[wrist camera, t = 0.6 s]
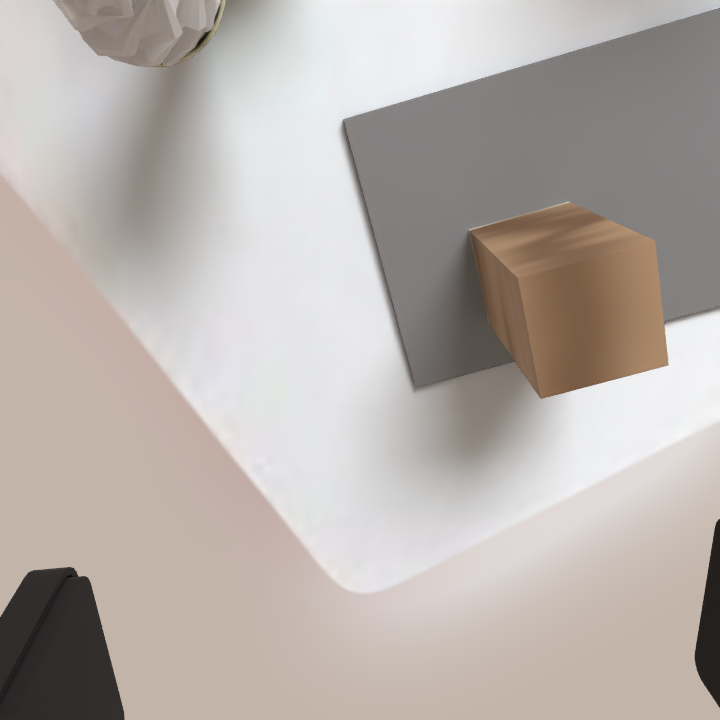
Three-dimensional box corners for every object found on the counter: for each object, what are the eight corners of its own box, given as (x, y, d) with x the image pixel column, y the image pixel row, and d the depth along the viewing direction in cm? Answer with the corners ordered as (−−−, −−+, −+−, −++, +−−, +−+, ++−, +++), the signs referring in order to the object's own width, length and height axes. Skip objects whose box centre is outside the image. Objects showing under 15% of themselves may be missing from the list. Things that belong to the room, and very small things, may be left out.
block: (569, 201, 32) (655, 240, 24) (584, 297, 34) (668, 365, 26) (468, 229, 33) (517, 278, 24) (488, 323, 34) (540, 398, 26)
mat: (776, -9, 30) (782, -10, 29) (786, 285, 35) (790, 287, 34) (343, 119, 31) (343, 119, 30) (414, 385, 36) (415, 387, 36)
